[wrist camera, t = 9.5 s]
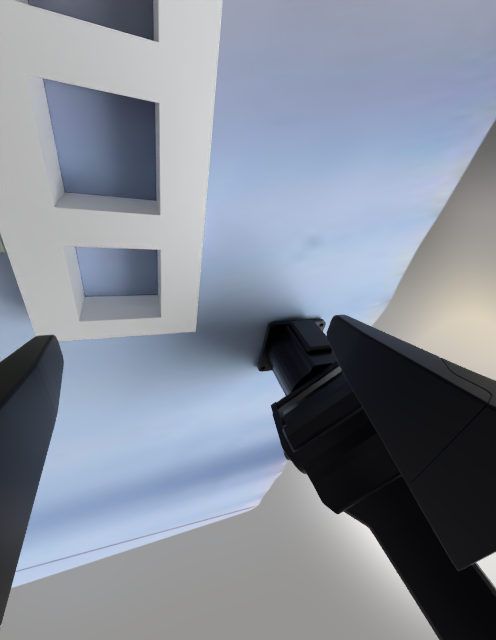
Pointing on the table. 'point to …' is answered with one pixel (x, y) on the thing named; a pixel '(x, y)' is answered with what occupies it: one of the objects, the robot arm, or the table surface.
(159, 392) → the table surface
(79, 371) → the table surface
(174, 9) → the white slotted frame
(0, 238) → the pad
